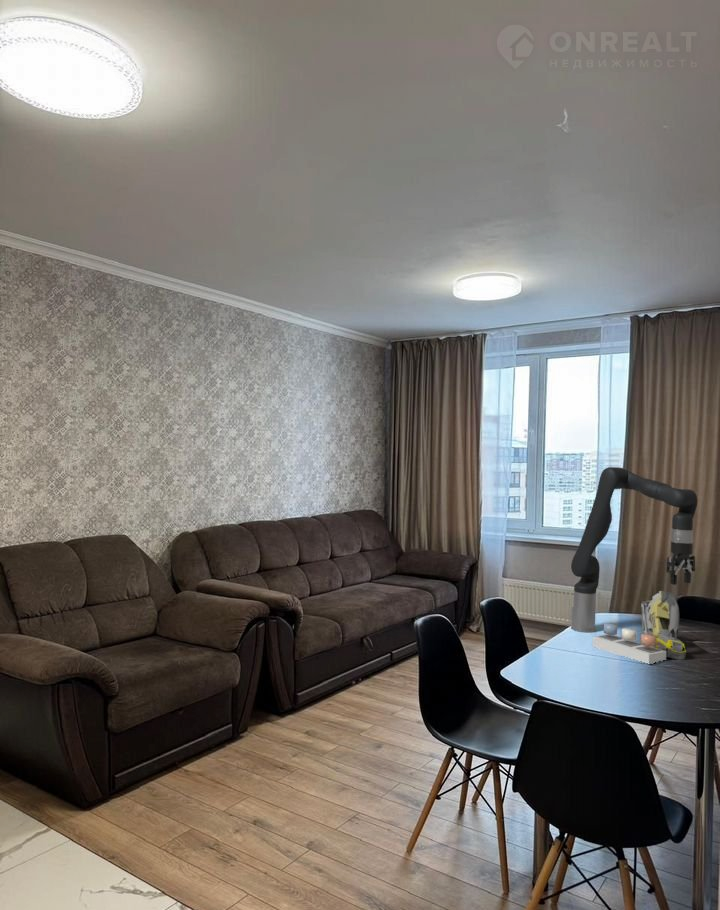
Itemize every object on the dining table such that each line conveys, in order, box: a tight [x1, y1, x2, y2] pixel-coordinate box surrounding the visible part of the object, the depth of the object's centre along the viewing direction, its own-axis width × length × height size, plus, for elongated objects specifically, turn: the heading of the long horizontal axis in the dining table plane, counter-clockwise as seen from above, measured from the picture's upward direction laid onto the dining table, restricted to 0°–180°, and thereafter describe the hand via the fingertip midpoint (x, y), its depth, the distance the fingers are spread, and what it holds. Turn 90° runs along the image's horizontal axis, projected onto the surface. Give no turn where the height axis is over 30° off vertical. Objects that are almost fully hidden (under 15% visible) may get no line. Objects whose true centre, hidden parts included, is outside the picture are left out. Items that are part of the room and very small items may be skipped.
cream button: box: [621, 627, 637, 642], centre depth 248 cm, size 5×5×4 cm
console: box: [592, 634, 667, 664], centre depth 248 cm, size 25×10×4 cm, turn 30°
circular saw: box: [640, 590, 687, 660], centre depth 256 cm, size 10×30×25 cm
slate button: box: [603, 622, 618, 636], centre depth 256 cm, size 5×5×4 cm
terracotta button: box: [640, 633, 656, 647], centre depth 241 cm, size 5×5×4 cm
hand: (680, 583), depth 247 cm, fingers open, 8 cm apart
